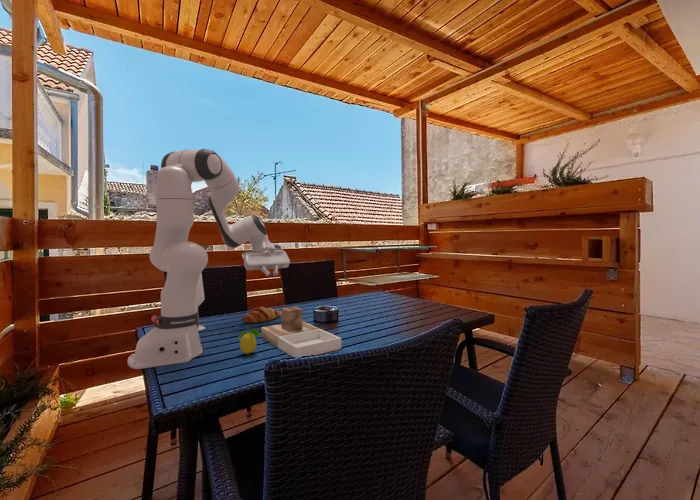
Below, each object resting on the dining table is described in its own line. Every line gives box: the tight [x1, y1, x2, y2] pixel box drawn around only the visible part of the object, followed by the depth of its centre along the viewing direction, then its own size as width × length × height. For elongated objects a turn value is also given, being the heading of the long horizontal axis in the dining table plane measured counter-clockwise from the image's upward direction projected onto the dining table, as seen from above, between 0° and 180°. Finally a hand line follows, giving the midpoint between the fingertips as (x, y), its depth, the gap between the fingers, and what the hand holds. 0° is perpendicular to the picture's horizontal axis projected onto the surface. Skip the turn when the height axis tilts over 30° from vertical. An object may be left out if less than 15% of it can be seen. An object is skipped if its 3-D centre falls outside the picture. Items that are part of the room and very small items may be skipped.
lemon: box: [237, 325, 261, 356], centre depth 120 cm, size 7×6×10 cm
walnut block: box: [281, 306, 303, 332], centre depth 137 cm, size 6×6×8 cm
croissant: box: [241, 306, 282, 324], centre depth 167 cm, size 21×10×8 cm, turn 138°
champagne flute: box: [197, 272, 206, 331], centre depth 151 cm, size 7×7×24 cm
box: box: [277, 328, 342, 358], centre depth 127 cm, size 18×15×4 cm
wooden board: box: [260, 320, 319, 347], centre depth 139 cm, size 18×14×4 cm
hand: (272, 275), depth 151 cm, fingers open, 2 cm apart
